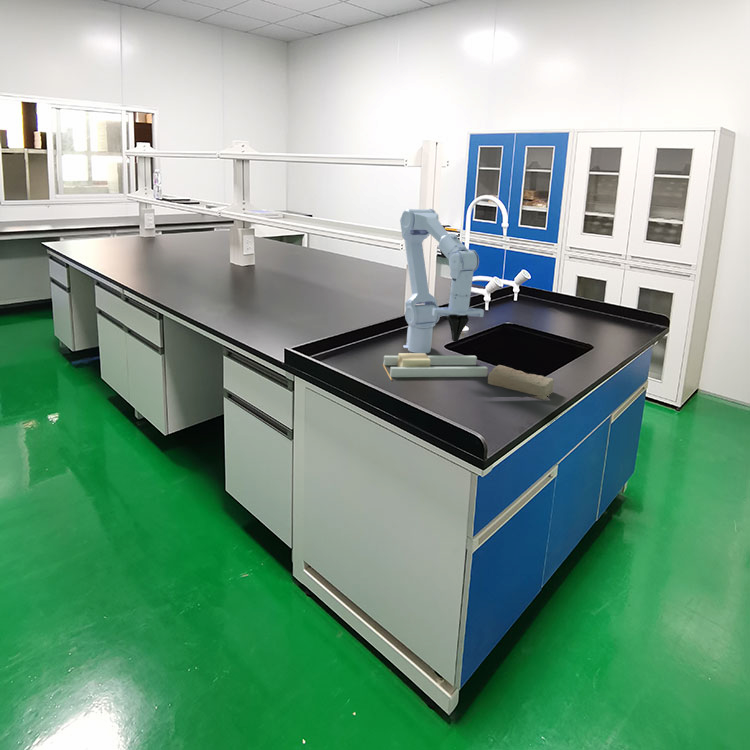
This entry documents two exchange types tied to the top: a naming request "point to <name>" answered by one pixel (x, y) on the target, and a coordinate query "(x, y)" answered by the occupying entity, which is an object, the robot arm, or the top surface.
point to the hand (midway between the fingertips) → (454, 340)
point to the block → (413, 360)
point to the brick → (521, 381)
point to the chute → (437, 370)
